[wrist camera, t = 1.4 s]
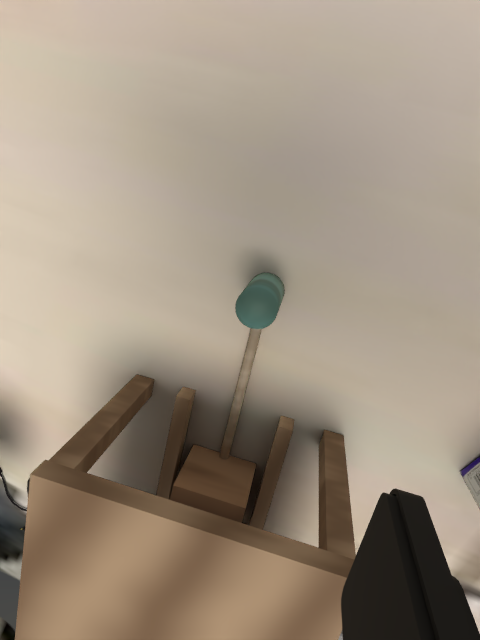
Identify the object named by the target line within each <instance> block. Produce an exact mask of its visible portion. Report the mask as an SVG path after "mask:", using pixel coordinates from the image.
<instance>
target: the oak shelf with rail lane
mask: <svg viewBox="0 0 480 640" xmlns="http://www.w3.org/2000/svg"><path fill="white" fill-rule="evenodd" d="M153 384H154V379H151V378H148V377H144V376H141V375H136V376H135V377H134V378H133V379H131V380H130V381H129V382H128V383H127V384H126V385H125V386H124V387H123V388H122V389H121V390H120V391H119V392H118V393H117V394H116V395H115V396H114V397H113V398H112V399H111V400H110V401H109V402H108V403H107V404H106V405H105V406H104V407H103V408H102V409H101V410H100V411H99V412H98V413H97V414H96V415H95V416H94V417H93V418H92V419H91V420H90V421H88V422H87V423H86V424H85V425H84V426H83V427H82V428H81V429H80V430H79V431H78V432H77V433H76V434H75V435H74V436H73V437H72V438H71V439H70V440H69V441H68V442H67V443H66V444H65V445H64V446H63V447H62V448H61V449H60V450H59V451H58V452H57V453H56V454H55V455H54V456H53V457H52V458H51V459H50V460H49V461H48V460H45V461H44V462H43V463H42V464H40V465H39V466H38V467H37V468H36V469H35V470H34V471H33V472H32V473H31V474H30V484H29V495H28V506H27V516H26V527H25V538H24V548H23V559H22V570H21V580H20V591H19V602H18V613H17V624H16V633H15V640H338V638H339V636H340V633H341V631H342V615H341V597H342V591H343V587H344V584H345V582H346V579H347V577H348V574H349V572H350V569H351V567H352V565H353V562H354V560H355V557H356V554H355V544H354V534H353V525H352V515H351V505H350V495H349V485H348V475H347V465H346V455H345V446H344V436H343V435H341V434H338V433H334V432H331V431H327V430H324V432H323V435H322V438H321V441H320V444H319V548H317V547H314V546H311V545H308V544H305V543H302V542H299V541H295V540H292V539H289V538H286V537H283V536H280V535H277V534H274V533H271V532H268V531H265V530H263V527H264V524H265V520H266V517H267V514H268V511H269V507H270V504H271V501H272V498H273V494H274V491H275V488H276V485H277V481H278V478H279V475H280V471H281V468H282V465H283V462H284V458H285V455H286V452H287V449H288V445H289V442H290V439H291V436H292V432H293V426H294V419H291V418H288V417H284V416H281V417H280V420H279V424H278V427H277V430H276V434H275V437H274V441H273V444H272V447H271V451H270V454H269V458H268V461H267V465H266V468H265V471H264V475H263V478H262V482H261V485H260V488H259V492H258V495H257V499H256V502H255V506H254V509H253V512H252V516H251V519H250V523H249V525H246V524H243V523H240V522H237V521H234V520H230V519H227V518H224V517H221V516H218V515H215V514H212V513H209V512H206V511H203V510H199V509H196V508H193V507H190V506H187V505H184V504H181V503H178V502H175V501H172V500H170V498H171V493H172V489H173V485H174V483H175V481H176V478H177V474H178V469H179V465H180V460H181V456H182V451H183V447H184V442H185V437H186V433H187V428H188V424H189V419H190V415H191V410H192V405H193V401H194V396H195V392H196V390H193V389H189V388H186V387H182V389H181V390H180V392H179V393H178V394H177V396H176V400H175V405H174V410H173V415H172V420H171V424H170V429H169V434H168V439H167V444H166V449H165V454H164V459H163V464H162V468H161V473H160V478H159V483H158V488H157V493H156V495H153V494H150V493H147V492H144V491H141V490H138V489H134V488H131V487H128V486H125V485H122V484H119V483H116V482H113V481H110V480H107V479H104V478H100V477H97V476H94V475H91V474H88V473H87V472H88V470H89V469H90V468H91V467H92V466H93V465H94V463H95V462H96V461H97V460H98V459H99V457H100V456H101V455H102V454H103V453H104V451H105V450H106V449H107V448H108V447H109V446H110V444H111V443H112V442H113V441H114V440H115V438H116V437H117V436H118V435H119V434H120V432H121V431H122V430H123V429H124V428H125V426H126V425H127V424H128V423H129V422H130V421H131V419H132V418H133V417H134V416H135V415H136V413H137V412H138V411H139V410H140V409H141V407H142V406H143V405H144V404H145V403H146V402H147V400H148V399H149V398H150V397H151V395H152V389H153Z"/></svg>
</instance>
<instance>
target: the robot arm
mask: <svg viewBox="0 0 480 640" xmlns="http://www.w3.org/2000/svg"><path fill="white" fill-rule="evenodd" d="M341 615H342V630H343V640H480V634H479V631H478V628H477V626H476V623H475V620H474V618H473V615H472V612H471V610H470V607H469V604H468V602H467V599H466V596H465V594H464V591H463V589H462V587H461V585H460V583H459V581H458V580H457V579H456V578H455V577H453V576H452V575H451V573H450V570H449V567H448V564H447V561H446V559H445V556H444V553H443V550H442V548H441V545H440V542H439V539H438V536H437V534H436V531H435V528H434V525H433V522H432V520H431V517H430V514H429V511H428V509H427V506H426V503H425V501H424V499H423V497H421V496H418V495H415V494H412V493H408V492H405V491H402V490H398V489H393V490H392V491H391V492H390V494H387V493H382V494H381V496H380V498H379V500H378V503H377V505H376V508H375V510H374V513H373V515H372V518H371V520H370V523H369V525H368V527H367V530H366V532H365V535H364V537H363V540H362V542H361V545H360V547H359V550H358V552H357V555H356V557H355V560H354V562H353V565H352V567H351V569H350V572H349V574H348V577H347V579H346V582H345V584H344V587H343V591H342V597H341Z"/></svg>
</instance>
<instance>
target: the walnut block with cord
mask: <svg viewBox="0 0 480 640" xmlns="http://www.w3.org/2000/svg"><path fill="white" fill-rule="evenodd" d="M283 296H284V285H283V283H282V281H281V280H280V278H279V277H277V276H276V275H274V274H271V273H261V274H259V275H257V276H255V277H254V278H253V279H252V281H251V282H250V283H249V284H248V286H247V287H246V288H245V289H244V291H243V292H242V293H241V294H240V296H239V297H238V299H237V301H236V307H235V309H236V314H237V317H238V318H239V320H240V321H241V322H242V323H243V324H244V325H245V326H247V327H249V328H251V332H250V336H249V340H248V344H247V347H246V351H245V355H244V359H243V363H242V367H241V371H240V375H239V379H238V383H237V387H236V391H235V395H234V399H233V403H232V407H231V411H230V415H229V419H228V423H227V427H226V431H225V435H224V439H223V443H222V447H221V451H220V452H217V451H214V450H211V449H207V448H204V447H201V446H198V445H193V447H192V449H191V451H190V453H189V455H188V457H187V459H186V461H185V463H184V465H183V467H182V469H181V471H180V473H179V475H178V477H177V479H176V481H175V483H174V485H173V489H172V493H171V498H170V500H172V501H175V502H178V503H181V504H184V505H187V506H190V507H193V508H196V509H199V510H203V511H206V512H209V513H212V514H215V515H218V516H221V517H224V518H227V519H230V520H234V521H237V522H240V523H242V520H243V517H244V513H245V510H246V506H247V501H248V497H249V493H250V489H251V484H252V480H253V476H254V472H255V467H256V463H253V462H250V461H246V460H243V459H240V458H237V457H233V456H230V455H229V453H230V450H231V446H232V442H233V438H234V434H235V430H236V426H237V422H238V419H239V415H240V411H241V407H242V403H243V399H244V395H245V392H246V388H247V384H248V380H249V376H250V372H251V368H252V365H253V361H254V357H255V353H256V349H257V345H258V341H259V337H260V334H261V330H262V328H265V327H267V326H269V325H270V324H272V322H273V321H274V320H275V318H276V316H277V313H278V310H279V307H280V305H281V302H282V299H283Z"/></svg>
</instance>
